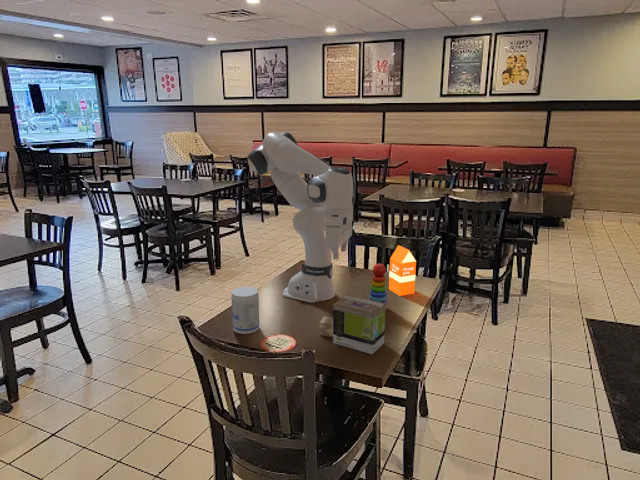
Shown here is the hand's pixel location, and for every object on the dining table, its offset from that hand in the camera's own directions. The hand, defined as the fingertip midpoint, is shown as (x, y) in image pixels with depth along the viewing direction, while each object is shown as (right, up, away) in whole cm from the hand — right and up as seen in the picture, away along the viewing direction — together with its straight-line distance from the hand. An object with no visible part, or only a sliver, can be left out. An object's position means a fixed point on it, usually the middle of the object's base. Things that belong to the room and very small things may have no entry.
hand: (340, 254), depth 158 cm
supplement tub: (-34, -27, +7) cm, 44 cm away
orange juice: (+29, -17, +42) cm, 54 cm away
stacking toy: (+16, -23, +24) cm, 37 cm away
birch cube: (-4, -28, +4) cm, 28 cm away
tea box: (+6, -30, -3) cm, 31 cm away
